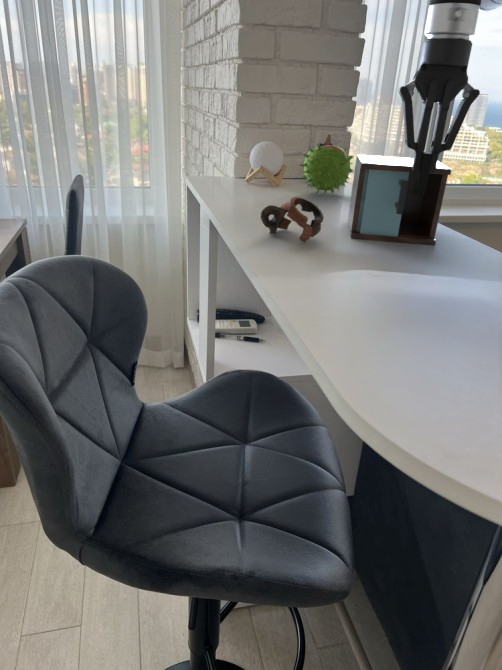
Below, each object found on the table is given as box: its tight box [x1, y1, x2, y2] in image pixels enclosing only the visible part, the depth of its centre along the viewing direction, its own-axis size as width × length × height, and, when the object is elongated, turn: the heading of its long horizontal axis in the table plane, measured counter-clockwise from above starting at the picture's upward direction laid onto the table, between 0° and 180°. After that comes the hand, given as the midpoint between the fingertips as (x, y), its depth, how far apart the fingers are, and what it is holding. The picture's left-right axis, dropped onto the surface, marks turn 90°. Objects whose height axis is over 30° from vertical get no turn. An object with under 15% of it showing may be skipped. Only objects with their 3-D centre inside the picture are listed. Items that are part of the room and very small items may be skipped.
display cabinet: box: [347, 154, 452, 246], centre depth 100 cm, size 16×14×14 cm
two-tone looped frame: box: [260, 196, 324, 243], centre depth 95 cm, size 12×10×8 cm
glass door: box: [360, 169, 409, 237], centre depth 94 cm, size 7×4×12 cm, turn 83°
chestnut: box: [299, 143, 355, 195], centre depth 135 cm, size 15×14×15 cm
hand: (419, 191), depth 90 cm, fingers closed
